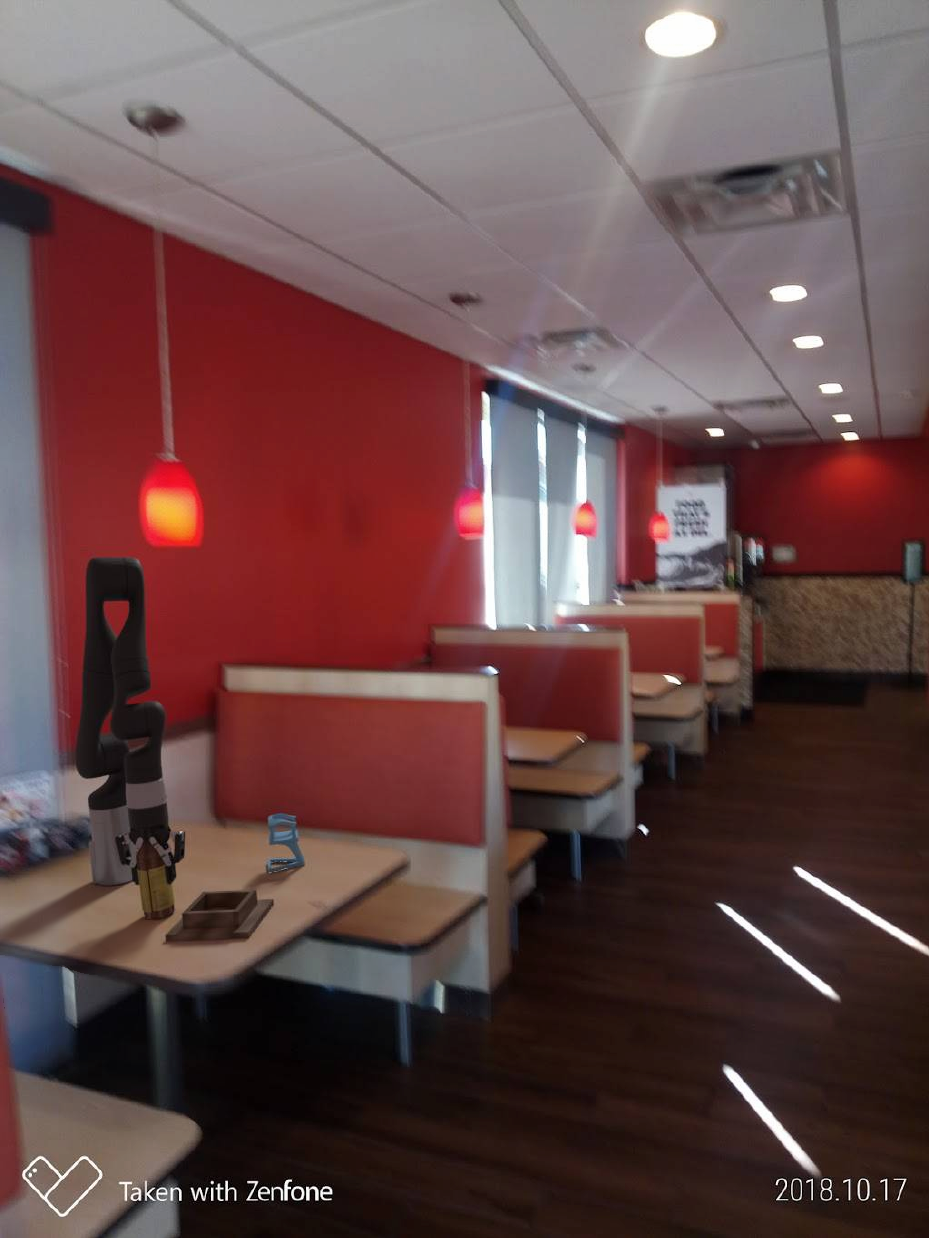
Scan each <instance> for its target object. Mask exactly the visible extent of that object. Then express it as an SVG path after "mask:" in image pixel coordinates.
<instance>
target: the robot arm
mask: <svg viewBox="0 0 929 1238" xmlns="http://www.w3.org/2000/svg"><path fill="white" fill-rule="evenodd" d="M145 586H146V585H145V575H144V570H143V566H142V564H141V562H140V560H139V559H138V558H137V557H136V558H135V557H128V556H127V557H124V556H123V557H121V556H119V557H117V556H116V557H112V556H109V557H107V556H105V557H104V556H100V557H99V556H98V557H92V558H90V559H89V561H88V563H87V566H86V570H85V637H84V651H83V661H82V672H81V673H82V674H81V675H82V676H81V677H82V678H81V680H82V681H81V685H82V686H81V706H80V716H79V717H80V718H79V723H78V727H77V735H76V741H75V750H74V754H75V755H74V760H75V768H76V770H77V774H79V776H80V777H81V778H83V779H86V780H92V779H98V778H102V777H107V776H108V778H107V779H106V781H105V782H104V783H103V784H102V785H100V786H99V787H98V788H96V789H95V790H94V791H92V792H91V793H90V794H89V795H88V797H87V803H88V804H87V805H88V814H89V823H90V832H91V840H90V841H89V842H88V849H89V859H90V861H89V862H90V868H91V878H92V879H91V880H92V884H97V885H100V886H115V885H116V886H117V885H121V884H125V883H128V882H129V883H130V882H131V881H132V882H133V883H134V885H135V886H139V879H138V872H137V861H136V854H137V852H138V850H139V849H140V847H141V846H142V844H143V838H142V837H140V836H139V830H146V829H153V833H154V835H153V836H152V837H151V838H150V842H151V844H152V845H153V846H154V848H155V849H157V851H158V853H159V855H160V857H162V858H163V860H164V862H165V864H166V865H167V866H166V867H165V871H166V879H167V884H172V885H173V883H174V882H175V880H176V879H177V870H176V869H177V867H176V864H178V863H180V862H181V861H182V860H184V858H185V853H186V850H185V848H186V831H185V830H182V829H181V830H180V831H176V830H172V829H171V828H170V824H169V812H168V811H169V809H168V802H167V796H168V795H167V791H166V790H167V789H166V785H165V781H164V776H163V766H162V746H163V739H164V735H165V734H164V733H165V730H166V723H167V713H166V712H167V711H166V709H165V707H164V705H162V703H160V702H159V701H157V700H151V701H144V702H136V703H128V702H129V701H130V699H132V698H134V697H137V696H141V695H142V694H145V693H147V692H148V691H149V690H150V689H151V687H152V678H151V671H150V664H149V659H148V653H147V652H148V651H147V638H146V636H147V634H146V627H147V626H146V625H147V622H146V617H147V616H146V615H147V614H146V587H145ZM106 602H128V614H127V618H126V619H125V620H126V621H125V622H124V625H123V626H122V628H121V631H120V632H119V634H118V635H117V634H116V633H115V632H114V630H113V628H112V627H111V625H110V623H109V622H108V621H109V620H108V619H107V617H106V614H105V613H106V612H105V609H104V607H105V606H104V604H105V603H106ZM110 713H111V714H110ZM109 715H110V719H109V721H110V722H109V729H110V731H111V732H107V733H103V734H101V733H102V729H103V725H104V723H105V721H106V719H107V718H108V716H109ZM146 738H148V740H147V742H146V743H145V745H143V746H142V747H139V748H136V749H134V750H132V751H131V749H130V744H129V741H131V740H138V739H139V740H140V739H146ZM170 838H171V841H172V843H174V847H173V848H174V849H173V848H172V847H171V845H170V843H169V839H170ZM163 848H164V849H165V850H164V849H163ZM172 850H173V851H174V852H173V851H172Z"/></svg>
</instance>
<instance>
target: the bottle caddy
mask: <svg viewBox="0 0 929 1238" xmlns="http://www.w3.org/2000/svg"><path fill="white" fill-rule="evenodd" d="M257 892H258V891H257V889H241V890H240V889H239V890H217V891H216V890H215V891H212V890H211V891H202V892H201V893H200V894H199V896H198V897H196V899H194V900H193V902H192V903H190V905H189V906H187V908H186V909H185V910H184V911H183V912H182V913H181V918H180V919H179V920H178V921H177V922H176V924H174V926H172V927H171V928H170V930H169V931H168V932H167V933H166V934H164V936H165V942H182V941H183V942H184V941H186V940H187V941H208V940H209V941H213V940H214V939H215V940H238V939H237V938H239V940H241V939H240V938H247V939H250V938H251V936H252V935H253V933H254V932H255V931H256V930H257V928H258V927H259V925H260V924H261V923H262V922H263V920H264V919H265V918H266V916H267V913H268V914H269V912H270V911H269V910H271V909H272V908H273V907H274V905H275V901H274V898H265V899H258V894H257ZM271 907H272V908H271ZM264 917H265V918H264ZM263 918H264V919H263ZM261 921H262V922H261ZM255 929H256V930H255ZM249 937H250V938H249ZM235 938H236V939H235ZM187 941H186V942H187Z"/></svg>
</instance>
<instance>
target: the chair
mask: <svg viewBox="0 0 929 1238" xmlns="http://www.w3.org/2000/svg"><path fill="white" fill-rule="evenodd" d="M296 818H297V816H296V815H289V814H287V813H276V814H272V815H271V814H270V815H269V816H268V817H267V825H268V828H269V833H268V845H269V846H276V845H279V846H280V845H281V846H286V847H287V848H289V850H290V851H291V852H292V854H293V855H294V857H282V858H279V857H278V858H268V859H267V873H268V872H274V871H278V870H281V869H284V868H291V869H293V868H292V867H295V868H298V867H297V866H299V867H303V865H304V866H305V865H306V863H305V857H304V855H303V853H302V851H301V849H300V846H299V844H298V842H299V833H298V829H296V828H297V827H296V826H297V823H298V822H297V821H296ZM280 826H289V827H290V828H291V830H287V831H281V832H275V828H277V827H280ZM275 861H276V862H280V861H281V862H283V861H287V862H294V863H285V864H282V865H280V866H275V867H272V863H271V862H275ZM271 867H272V868H271Z"/></svg>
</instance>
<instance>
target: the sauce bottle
mask: <svg viewBox="0 0 929 1238" xmlns="http://www.w3.org/2000/svg"><path fill="white" fill-rule="evenodd" d="M153 835H154V833H153V829H146V830H139V836H140V837H142V838H143V844H142V846H141V847H140V849H139V850H138V852H137V854H136V861H137V872H138V879H139V885H138V886H139V892H140V901H141V908H142V909H141V910H142V911H143V914H144V918H145V919H147V920H148V919H149V920H159V919H164V918H167V917H169V916H171V915H172V914H173V913H174V912H175V911H176V909H175V894H174V889H173V888H174V886H173V883H172V884H167V879H166V871H165V867H166V866H167V865H166V864H165V862H164V860H163V858H162V857H160V855H159V853H158V851H157V849H155V848H154V846H153V845H152V844H151V842H150V838H151V837H152V836H153ZM163 849H164V848H163ZM164 850H165V849H164Z"/></svg>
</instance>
